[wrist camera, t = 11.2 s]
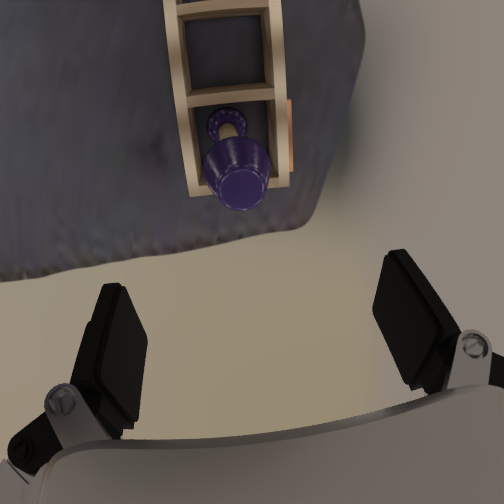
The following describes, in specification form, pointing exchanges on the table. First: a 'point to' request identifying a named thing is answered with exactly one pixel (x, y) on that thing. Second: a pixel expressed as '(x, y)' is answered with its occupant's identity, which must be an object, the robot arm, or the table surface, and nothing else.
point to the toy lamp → (235, 162)
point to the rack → (272, 90)
